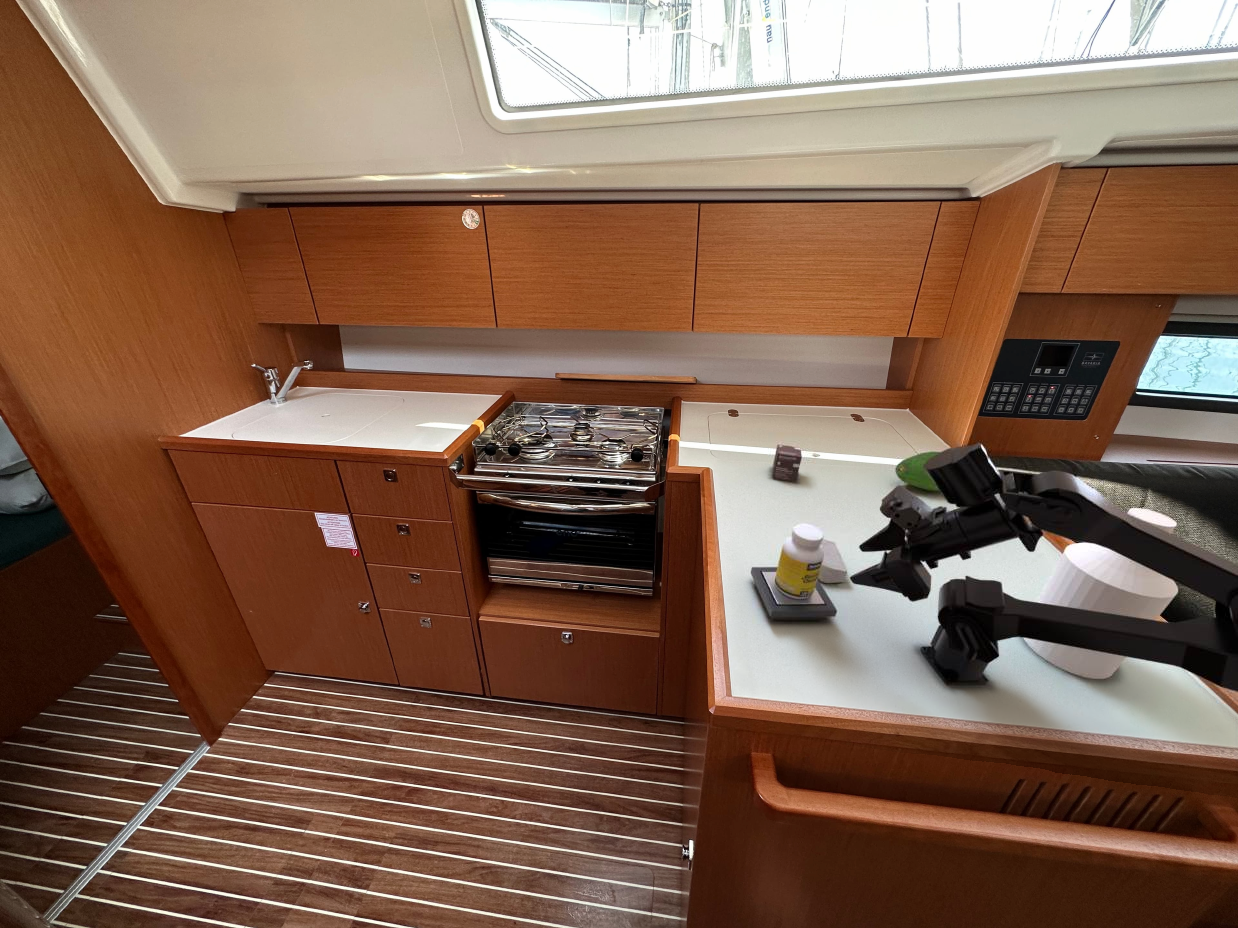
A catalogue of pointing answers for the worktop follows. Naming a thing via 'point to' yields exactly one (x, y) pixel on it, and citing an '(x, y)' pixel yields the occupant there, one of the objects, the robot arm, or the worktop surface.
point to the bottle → (1103, 596)
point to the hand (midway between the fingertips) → (856, 563)
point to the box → (786, 463)
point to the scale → (792, 611)
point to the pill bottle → (800, 562)
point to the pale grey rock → (832, 564)
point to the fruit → (916, 471)
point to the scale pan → (785, 600)
